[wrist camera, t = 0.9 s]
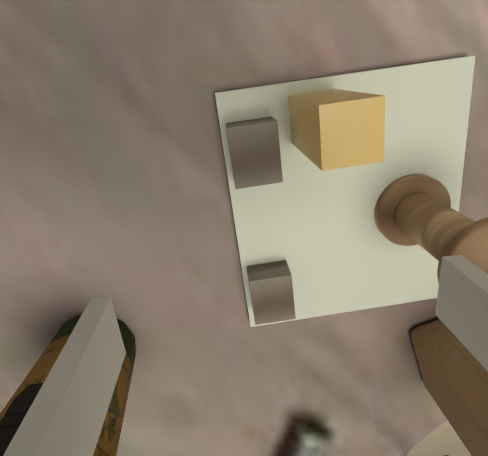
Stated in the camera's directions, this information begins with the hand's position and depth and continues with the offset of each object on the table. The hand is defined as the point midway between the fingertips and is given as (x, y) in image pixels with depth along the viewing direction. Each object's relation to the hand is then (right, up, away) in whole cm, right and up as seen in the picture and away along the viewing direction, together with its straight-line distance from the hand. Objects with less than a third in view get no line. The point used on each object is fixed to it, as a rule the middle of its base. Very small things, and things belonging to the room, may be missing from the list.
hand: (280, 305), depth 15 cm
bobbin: (+15, +5, +21) cm, 26 cm away
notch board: (0, +4, +21) cm, 21 cm away
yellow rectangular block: (+4, +13, +17) cm, 22 cm away
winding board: (+9, +5, +22) cm, 24 cm away
